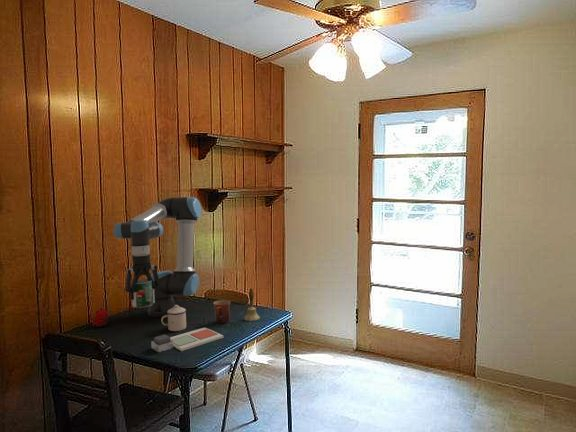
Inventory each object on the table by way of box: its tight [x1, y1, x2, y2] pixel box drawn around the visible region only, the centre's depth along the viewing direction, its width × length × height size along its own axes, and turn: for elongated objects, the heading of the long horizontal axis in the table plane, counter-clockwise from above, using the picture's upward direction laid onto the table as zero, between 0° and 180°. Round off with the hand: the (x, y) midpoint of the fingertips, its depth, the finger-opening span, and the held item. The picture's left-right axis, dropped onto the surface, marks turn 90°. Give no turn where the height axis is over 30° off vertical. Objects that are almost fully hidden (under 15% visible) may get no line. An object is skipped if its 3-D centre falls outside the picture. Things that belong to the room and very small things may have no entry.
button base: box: [150, 340, 175, 353], centre depth 180 cm, size 7×7×3 cm
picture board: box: [169, 326, 224, 352], centre depth 189 cm, size 16×22×1 cm
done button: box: [153, 334, 171, 345], centre depth 180 cm, size 5×5×3 cm
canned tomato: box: [134, 278, 153, 309], centre depth 187 cm, size 8×8×11 cm
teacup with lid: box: [160, 304, 187, 332], centre depth 204 cm, size 12×9×12 cm
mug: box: [213, 299, 231, 325], centre depth 211 cm, size 12×9×10 cm
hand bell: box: [243, 288, 261, 322], centre depth 217 cm, size 8×8×16 cm
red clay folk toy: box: [92, 297, 109, 328], centre depth 211 cm, size 8×7×15 cm
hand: (143, 304), depth 187 cm, fingers closed on canned tomato, 8 cm apart
